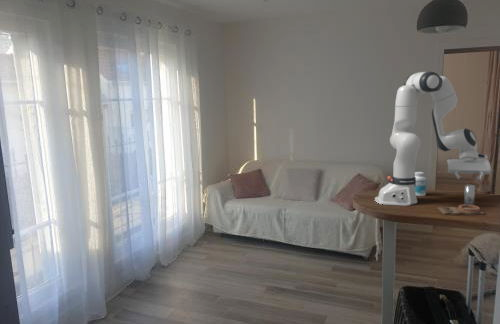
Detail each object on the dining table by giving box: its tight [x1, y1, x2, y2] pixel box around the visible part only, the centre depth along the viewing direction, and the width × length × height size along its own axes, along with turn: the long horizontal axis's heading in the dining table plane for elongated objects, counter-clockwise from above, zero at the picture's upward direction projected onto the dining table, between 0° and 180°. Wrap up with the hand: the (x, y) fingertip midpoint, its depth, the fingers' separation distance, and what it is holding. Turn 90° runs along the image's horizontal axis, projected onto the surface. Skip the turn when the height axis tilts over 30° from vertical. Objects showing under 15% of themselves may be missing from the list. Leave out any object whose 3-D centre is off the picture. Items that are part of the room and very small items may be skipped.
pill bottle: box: [415, 171, 427, 197], centre depth 217 cm, size 8×7×14 cm
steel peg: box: [463, 184, 476, 205], centre depth 191 cm, size 4×4×11 cm
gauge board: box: [437, 203, 485, 216], centre depth 183 cm, size 18×10×2 cm, turn 81°
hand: (468, 179), depth 197 cm, fingers open, 8 cm apart
